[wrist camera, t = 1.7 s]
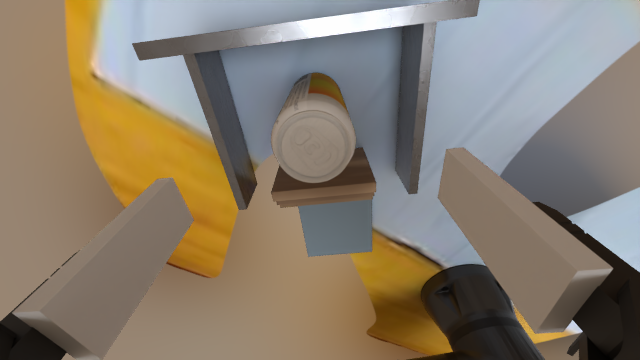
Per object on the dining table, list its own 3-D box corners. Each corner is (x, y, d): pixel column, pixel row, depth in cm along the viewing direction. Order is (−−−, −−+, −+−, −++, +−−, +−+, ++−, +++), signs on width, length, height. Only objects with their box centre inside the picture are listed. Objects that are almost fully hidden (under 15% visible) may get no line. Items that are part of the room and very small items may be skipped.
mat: (371, 247, 42) (372, 251, 41) (308, 252, 43) (308, 256, 42) (370, 195, 37) (371, 199, 36) (298, 202, 37) (298, 206, 36)
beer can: (314, 133, 31) (310, 201, 19) (280, 96, 29) (249, 146, 16) (351, 101, 29) (375, 154, 17) (318, 59, 27) (316, 82, 14)
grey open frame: (402, 169, 34) (437, 227, 24) (250, 184, 36) (222, 245, 25) (413, 11, 25) (480, -4, 15) (205, 39, 26) (132, 43, 16)
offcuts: (363, 170, 34) (375, 209, 27) (287, 178, 35) (278, 218, 27) (362, 147, 33) (376, 182, 25) (282, 155, 33) (271, 192, 26)
